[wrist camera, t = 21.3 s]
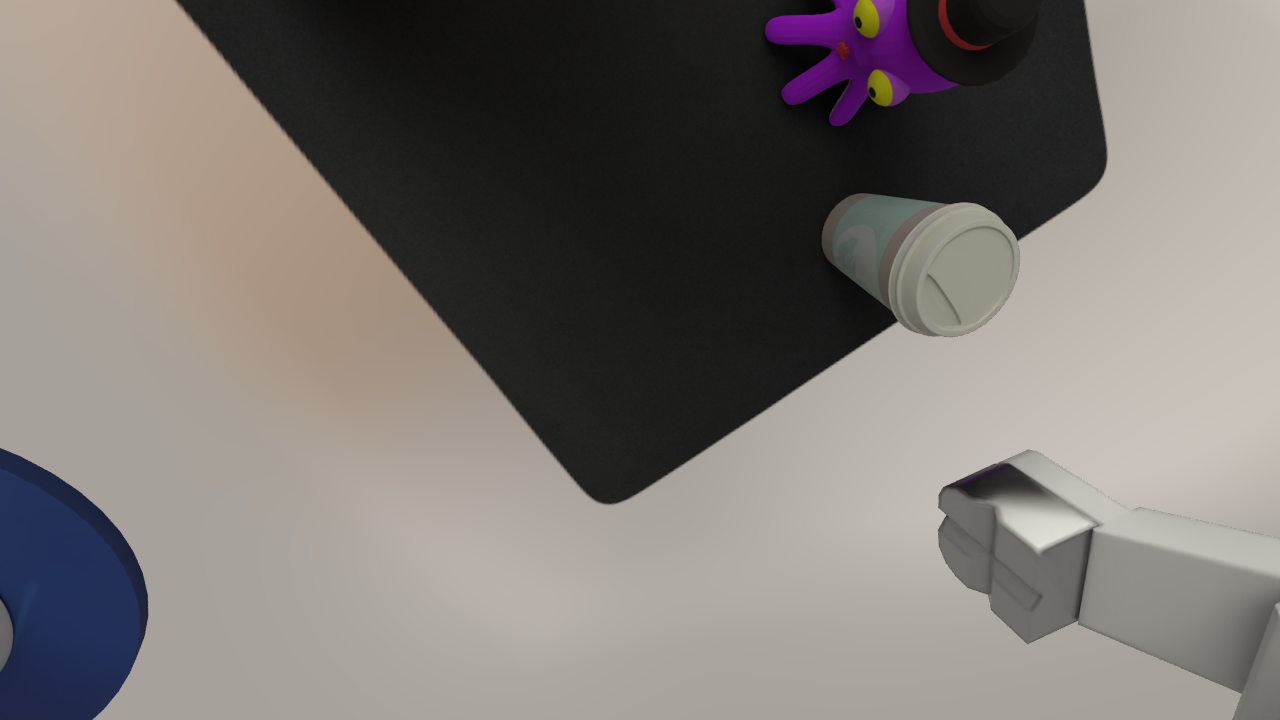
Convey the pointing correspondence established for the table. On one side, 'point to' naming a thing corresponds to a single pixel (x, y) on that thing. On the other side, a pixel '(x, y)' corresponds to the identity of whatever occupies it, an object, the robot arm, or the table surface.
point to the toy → (906, 47)
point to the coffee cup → (925, 259)
